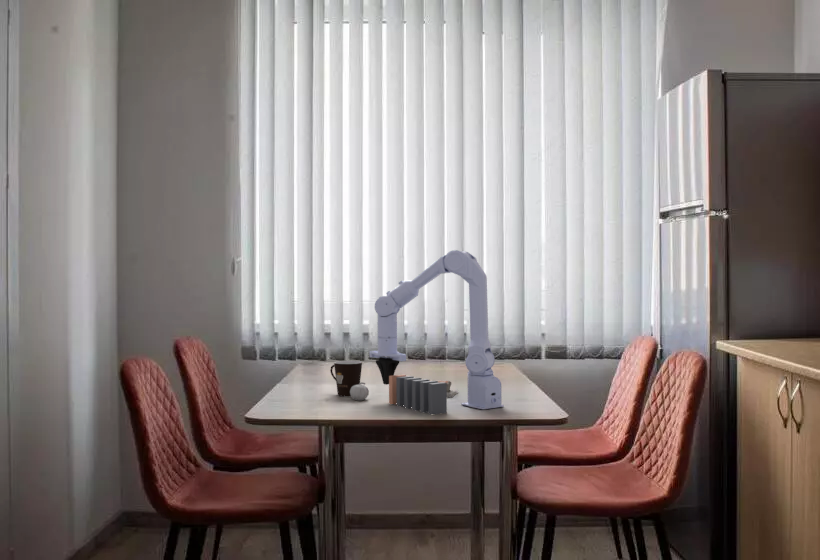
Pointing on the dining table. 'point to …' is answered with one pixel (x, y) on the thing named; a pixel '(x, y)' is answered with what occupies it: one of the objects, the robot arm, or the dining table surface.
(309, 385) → the dining table surface
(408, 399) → the domino
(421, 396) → the domino
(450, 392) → the packaged product
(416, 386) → the domino
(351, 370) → the coffee mug
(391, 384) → the domino
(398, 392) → the domino
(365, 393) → the garlic
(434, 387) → the domino
